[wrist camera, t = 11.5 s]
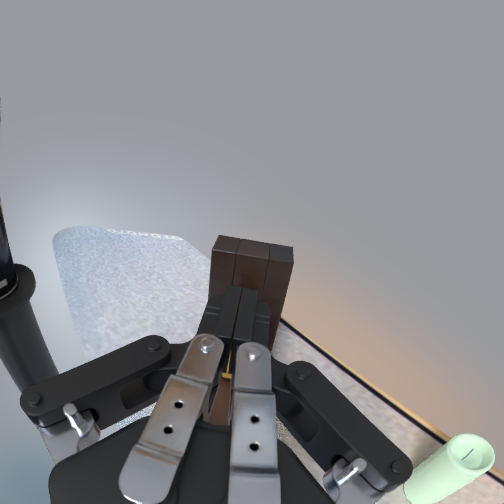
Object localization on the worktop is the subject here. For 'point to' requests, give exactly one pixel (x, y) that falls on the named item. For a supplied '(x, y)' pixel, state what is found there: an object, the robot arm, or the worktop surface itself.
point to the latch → (252, 277)
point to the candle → (449, 469)
